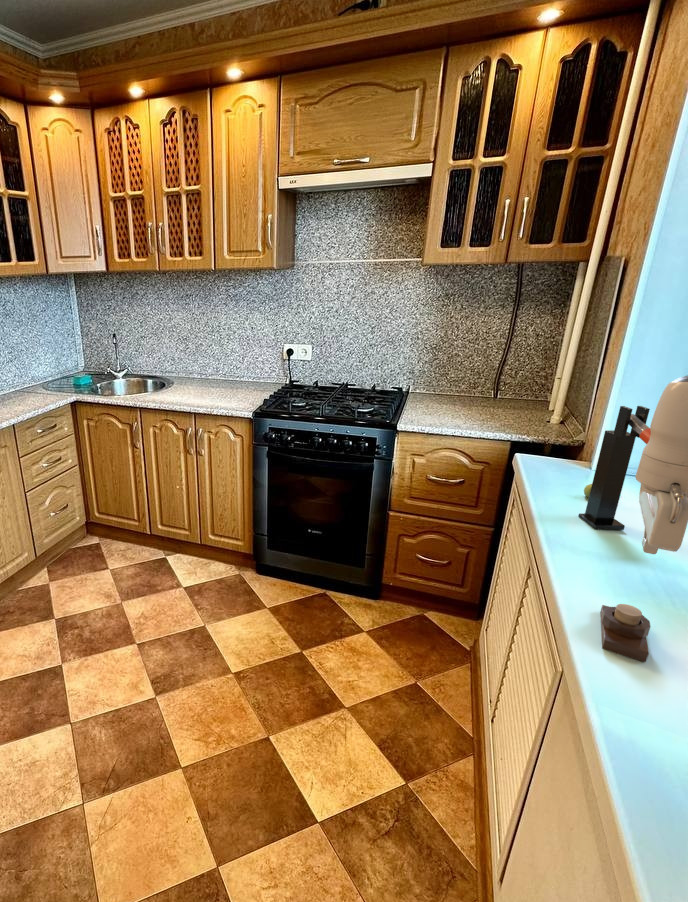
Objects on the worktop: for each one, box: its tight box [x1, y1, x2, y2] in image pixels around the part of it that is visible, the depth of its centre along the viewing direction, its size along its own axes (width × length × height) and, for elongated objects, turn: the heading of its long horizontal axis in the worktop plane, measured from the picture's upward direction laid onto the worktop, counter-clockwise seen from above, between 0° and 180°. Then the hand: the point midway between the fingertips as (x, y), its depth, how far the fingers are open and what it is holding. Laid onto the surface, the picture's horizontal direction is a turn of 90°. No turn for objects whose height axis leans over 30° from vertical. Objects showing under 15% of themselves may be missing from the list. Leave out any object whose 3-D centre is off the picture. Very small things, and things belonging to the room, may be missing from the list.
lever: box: [628, 413, 651, 445], centre depth 120 cm, size 12×3×3 cm, turn 176°
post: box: [578, 405, 651, 531], centre depth 129 cm, size 7×7×31 cm
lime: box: [583, 483, 592, 499], centre depth 147 cm, size 4×5×5 cm
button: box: [614, 603, 643, 625], centre depth 93 cm, size 4×4×2 cm
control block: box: [599, 604, 651, 663], centre depth 94 cm, size 12×6×4 cm, turn 146°
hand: (648, 549), depth 89 cm, fingers closed
